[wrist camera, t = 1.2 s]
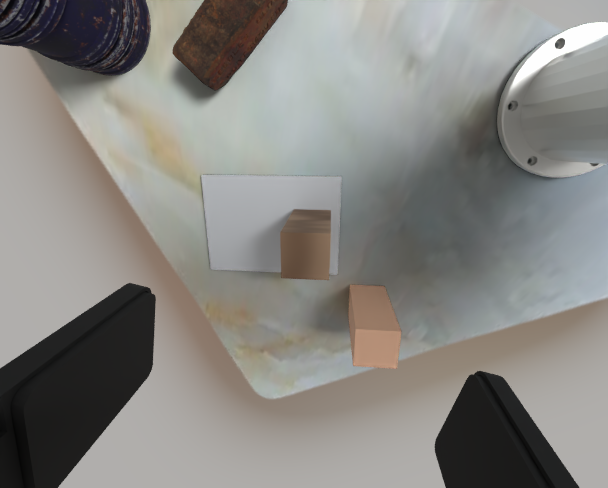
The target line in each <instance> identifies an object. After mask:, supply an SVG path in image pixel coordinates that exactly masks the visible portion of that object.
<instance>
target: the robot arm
mask: <svg viewBox="0 0 608 488" xmlns="http://www.w3.org/2000/svg"><path fill="white" fill-rule="evenodd" d="M554 45H555V47H554ZM508 104H509V105H510V108H509V109H508ZM497 127H498V134H499V139H500V141H501V144H502V147H503V149H504V150H505V152H506V153H507V155H508V156H509V158H510V159H511V160H512V161H513V162H514V163H515V164H516V165H517V166H519V167H520V168H522V169H524V170H526V171H527V172H530V173H533V174H536V175H539V176H546V177H553V178H566V177H572V176H578V175H582V174H585V173H588V172H591V171H594V170H596V169H597V168H599V167H601V166H603V165H605V164H608V22H593V23H585V24H582V25H579V26H575V27H572V28H569V29H567V30H565V31H563V32H560V33H558V34H556V35H554V36H552V37H551V38H549V39H548V40H546V41H545V42H543V43H541V44H540V45H538V46H537V47H536V48H535V49H534V50H533V51H532V52H530V53H529V54H528V55H527V56H526V57H525V58H524V59H523V61H522V62H521V63H520V64H519V65H518V66H517V68H516V69H515V70H514V72H513V74H512V75H511V77H510V78H509V80H508V82H507V84H506V86H505V89H504V91H503V93H502V96H501V99H500V103H499V108H498V116H497ZM528 159H529V161H528ZM527 161H528V162H527ZM155 301H156V299H155V295H154V294H151V290H150V288H148V287H144V286H140V285H136V284H132V283H129V284H126V285H124V286H123V287H121V288H120V289H118V290H117V291H115V292H114V293H113V294H111V295H110V296H108V297H107V298H105V299H104V300H102V301H101V302H99V303H98V304H96V305H95V306H93V307H92V308H90V309H89V310H87V311H86V312H84V313H83V314H81V315H80V316H78V317H77V318H75V319H74V320H72V321H71V322H69V323H68V324H66V325H65V326H63V327H62V328H60V329H59V330H57V331H56V332H54V333H53V334H51V335H50V336H48V337H47V338H45V339H44V340H42V341H41V342H39V343H38V344H36V345H35V346H33V347H32V348H30V349H29V350H27V351H26V352H24V353H23V354H21V355H20V356H18V357H17V358H15V359H14V360H12V361H11V362H9V363H8V364H6V365H5V366H3V367H2V368H0V488H58V487H59V485H60V484H61V483H62V482H63V481H64V479H65V478H66V477H67V476H68V474H69V473H70V472H71V471H72V469H73V468H74V467H75V466H76V465H77V463H78V462H79V461H80V460H81V458H82V457H83V456H84V455H85V453H86V452H87V451H88V450H89V449H90V447H91V446H92V445H93V444H94V442H95V441H96V440H97V439H98V438H99V436H100V435H101V434H102V433H103V431H104V430H105V429H106V428H107V426H108V425H109V424H110V423H111V422H112V420H113V419H114V418H115V417H116V416H117V414H118V413H119V412H120V411H121V409H122V408H123V407H124V406H125V405H126V403H127V402H128V401H129V400H130V398H131V397H132V396H133V395H134V393H135V392H136V391H137V390H138V388H139V387H140V386H141V385H142V384H143V382H144V381H145V380H146V379H147V377H148V376H149V374H150V372H151V370H152V365H153V346H154V323H155ZM435 453H436V456H437V460H438V463H439V467H440V470H441V473H442V477H443V480H444V483H445V486H446V488H579V486H578V485H577V484H576V482H575V481H574V479H573V478H572V476H571V475H570V473H569V472H568V470H567V469H566V468H565V466H564V465H563V463H562V462H561V460H560V459H559V458H558V456H557V455H556V453H555V452H554V450H553V449H552V447H551V446H550V444H549V443H548V442H547V440H546V439H545V437H544V436H543V435H542V433H541V431H540V430H539V429H538V427H537V426H536V424H535V423H534V421H533V420H532V418H531V417H530V415H529V414H528V412H527V411H526V410H525V408H524V407H523V405H522V404H521V402H520V401H519V399H518V398H517V397H516V395H515V394H514V392H513V391H512V389H511V388H510V386H509V385H508V383H507V382H506V381H505V380H504V378H503V377H501V376H498V375H494V374H490V373H486V372H482V371H477V372H476V373H475V374H474V375H470V376H469V377H468V378H467V380H466V382H465V384H464V386H463V388H462V390H461V392H460V394H459V396H458V397H457V399H456V401H455V403H454V405H453V407H452V410H451V411H450V413H449V415H448V417H447V419H446V421H445V423H444V425H443V427H442V429H441V431H440V433H439V434H438V436H437V438H436V442H435Z"/></svg>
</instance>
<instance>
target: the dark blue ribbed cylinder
mask: <svg viewBox="0 0 608 488" xmlns="http://www.w3.org/2000/svg"><path fill="white" fill-rule="evenodd" d="M150 30H151V25H150V15H149V10H148V6H147V3H146V0H0V44H2V45H10V46H22V47H25V48H28V49H31V50H35V51H37V52H39V53H40V54H42V55H44V56H46V57H48V58H50V59H53V60H57V61H59V62H62V63H64V64H66V65H69V66H72V67H75V68H79V69H83V70H90V71H93V72H96V73H99V74H103V75H111V76H112V75H120V74H123V73H126V72H128V71H130V70H132V69H133V68H134V67H135V66H136V65H137V64H138V63H139V62H140V61H141V60H142V58H143V56H144V54H145V53H146V50H147V47H148V44H149V39H150Z"/></svg>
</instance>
